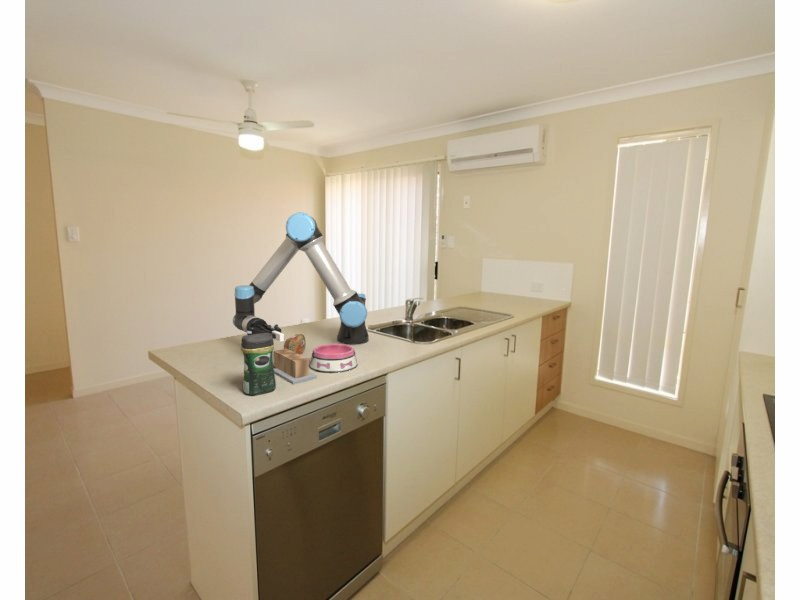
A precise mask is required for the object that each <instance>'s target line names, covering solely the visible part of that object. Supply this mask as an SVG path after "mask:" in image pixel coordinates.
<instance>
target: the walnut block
mask: <svg viewBox="0 0 800 600" xmlns="http://www.w3.org/2000/svg"><path fill="white" fill-rule="evenodd" d="M309 361H310V360H309V358H308V357H305V356H303V355H302V354H301V355H299V354H297V353H295V352H293V351H291V350H288V349H284V348H283V349H278V350H273V362H274V364H273V368H278V369H279V370H281V371H283V372H285V373H287V374H288V375H290V376H292V377H294V378H295V379H296V378H300V377H304V376H308V375H309V372H310V371H309V370H310V367H309V364H310V362H309Z"/></svg>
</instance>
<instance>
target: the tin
mask: <svg viewBox="0 0 800 600" xmlns="http://www.w3.org/2000/svg"><path fill="white" fill-rule="evenodd" d="M283 349H288V350H291V351H293V352H295V353H297V354H299V355H301V356H302V355H303V353H304V352H305V350H306V338H305V335H304V334H303V333H301V334H300V333H299V334H298V333H297V334H294V335H292V336H291V337H289V338H287V339H286V340H284V343H283Z"/></svg>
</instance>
